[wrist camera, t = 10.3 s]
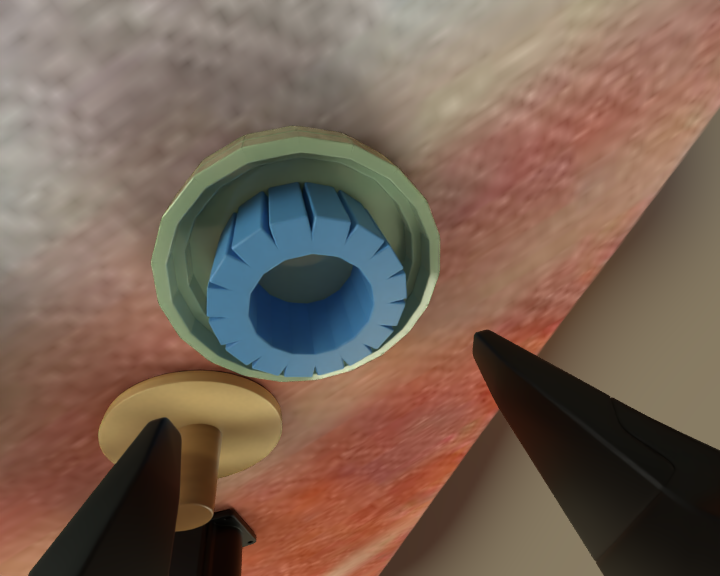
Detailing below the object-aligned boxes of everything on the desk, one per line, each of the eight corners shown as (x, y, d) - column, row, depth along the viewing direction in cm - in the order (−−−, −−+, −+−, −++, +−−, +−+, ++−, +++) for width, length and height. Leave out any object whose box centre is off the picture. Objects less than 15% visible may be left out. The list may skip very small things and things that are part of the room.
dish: (421, 316, 20) (439, 346, 18) (227, 367, 19) (222, 406, 17) (414, 99, 13) (442, 108, 11) (110, 157, 12) (77, 178, 10)
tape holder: (297, 444, 24) (304, 525, 20) (156, 486, 23) (132, 579, 19) (254, 350, 18) (250, 436, 14) (61, 400, 17) (-3, 508, 13)
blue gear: (387, 304, 18) (410, 351, 15) (250, 339, 17) (247, 395, 14) (372, 165, 14) (401, 195, 11) (188, 203, 13) (166, 246, 10)
